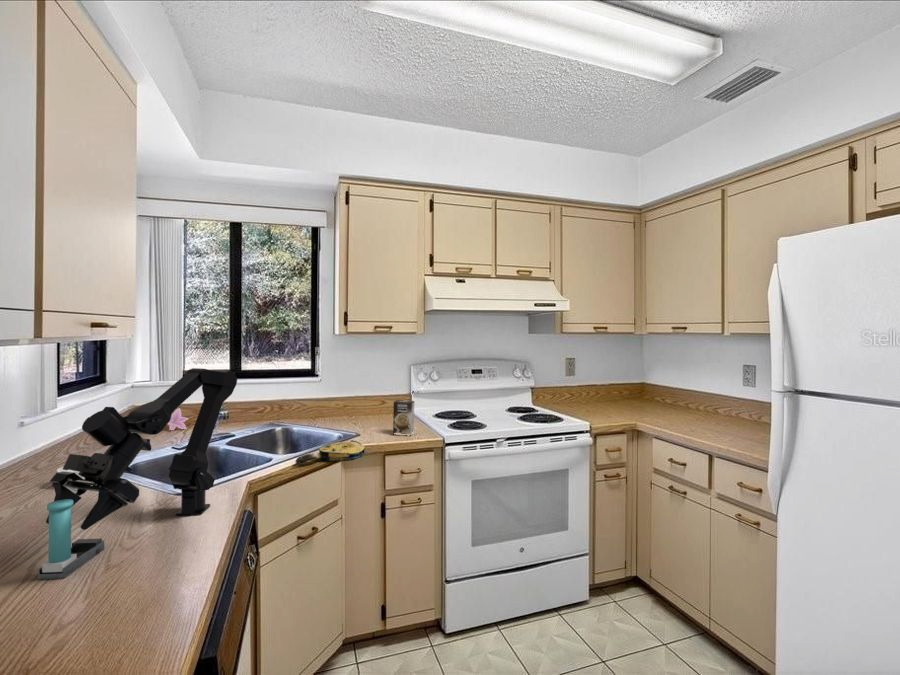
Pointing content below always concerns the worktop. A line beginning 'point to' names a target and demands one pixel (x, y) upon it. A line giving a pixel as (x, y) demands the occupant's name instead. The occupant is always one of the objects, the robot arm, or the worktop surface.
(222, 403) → the robot arm
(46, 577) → the track
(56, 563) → the teal tall cylinder
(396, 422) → the coffee box
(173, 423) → the lily
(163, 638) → the worktop surface
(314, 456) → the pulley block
